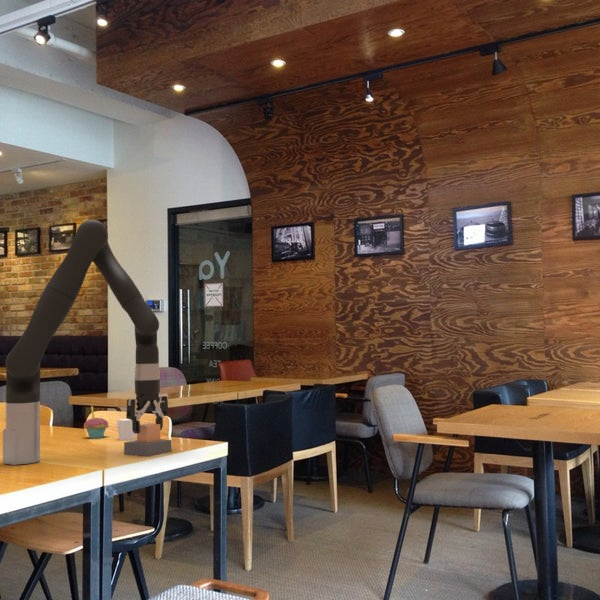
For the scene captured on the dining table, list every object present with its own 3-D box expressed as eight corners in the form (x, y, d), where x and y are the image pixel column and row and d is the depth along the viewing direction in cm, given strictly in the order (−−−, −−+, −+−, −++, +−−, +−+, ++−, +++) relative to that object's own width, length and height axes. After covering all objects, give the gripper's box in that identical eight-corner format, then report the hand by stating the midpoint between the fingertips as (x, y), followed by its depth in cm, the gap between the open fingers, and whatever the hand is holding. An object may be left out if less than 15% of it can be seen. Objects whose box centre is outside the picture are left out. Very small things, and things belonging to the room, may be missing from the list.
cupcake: (95, 439, 243) (95, 405, 244) (78, 438, 247) (78, 404, 248) (113, 436, 251) (113, 403, 251) (96, 435, 255) (96, 402, 255)
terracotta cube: (147, 442, 208) (147, 425, 208) (136, 441, 211) (136, 424, 211) (160, 440, 212) (160, 424, 212) (149, 439, 215) (149, 423, 215)
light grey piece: (132, 440, 239) (131, 420, 239) (113, 440, 240) (113, 420, 240) (140, 437, 245) (140, 418, 246) (122, 437, 247) (122, 418, 247)
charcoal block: (147, 458, 204) (147, 444, 204) (124, 455, 209) (124, 442, 210) (171, 453, 212) (171, 439, 212) (148, 450, 218) (148, 438, 218)
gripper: (136, 380, 204) (137, 435, 203) (173, 377, 215) (174, 429, 214) (120, 379, 209) (121, 433, 208) (157, 377, 220) (158, 428, 219)
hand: (148, 431), depth 211 cm, fingers open, 8 cm apart
